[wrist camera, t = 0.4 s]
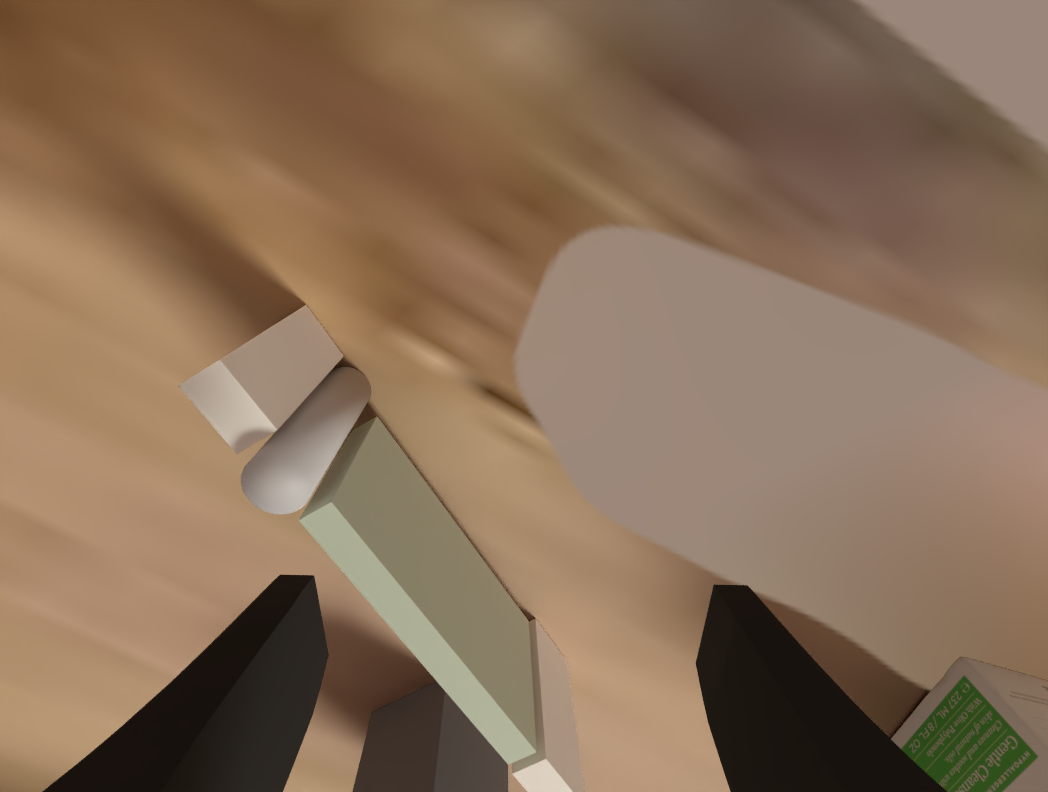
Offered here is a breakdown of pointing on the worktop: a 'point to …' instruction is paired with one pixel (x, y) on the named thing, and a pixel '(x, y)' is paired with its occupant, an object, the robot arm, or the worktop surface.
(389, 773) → the grey block
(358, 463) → the door
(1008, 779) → the skincare box
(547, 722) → the wall frame
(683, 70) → the worktop surface
